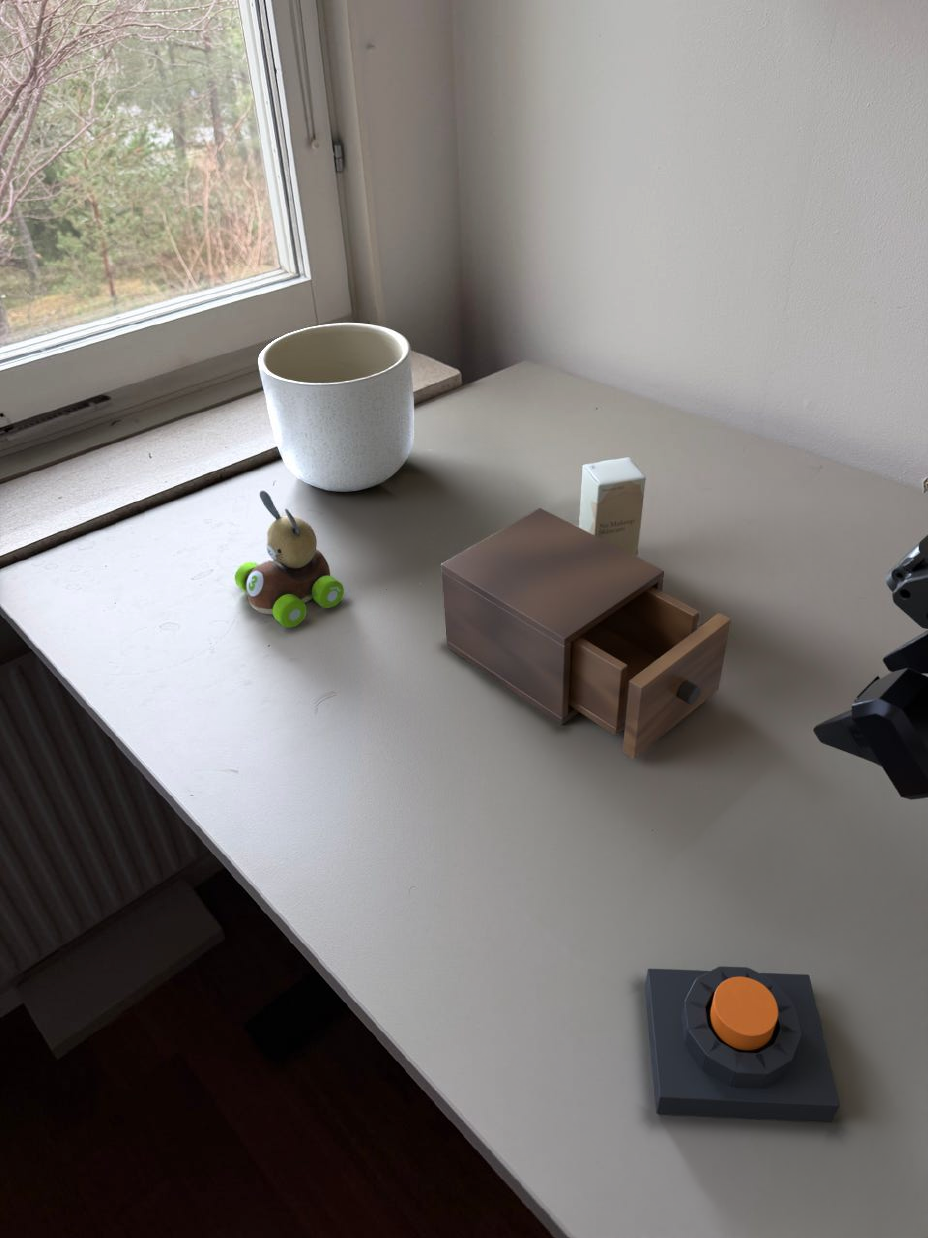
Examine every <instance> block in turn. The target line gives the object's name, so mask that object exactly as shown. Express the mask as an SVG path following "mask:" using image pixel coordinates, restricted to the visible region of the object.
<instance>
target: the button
mask: <svg viewBox="0 0 928 1238" xmlns="http://www.w3.org/2000/svg"><path fill="white" fill-rule="evenodd" d="M710 1019H711V1023H712V1026H713V1028H714V1030H715V1032H716V1033H717V1035H718V1036H719V1037H720V1038H721V1039H722V1040H723V1041H724V1042H725V1043H727V1044H728V1045H730V1046H732V1047H734V1048H737V1049H740V1050H747V1051H748V1050H756V1049H759V1048H761V1047H763V1046H764V1045H766V1044H767V1043H768V1042H769V1040H770V1039H771V1037H772V1034H773V1031H774V1028H775V1025H776V1022H777V1019H778V1006H777V1003H776V1000H775V998H774V996H773V995H772V993H771V992H770V991H769V990H768V989H767V988H766V987H765V986H764V985H762V984H761V983H759V982H758V981H756V980H753V979H751V978H747V977H733V978H729V979H727V980H725V981H723V982H722V983H721V984H720V985H719V986H718V988H717V989H716V991H715V994H714V999H713V1003H712V1007H711V1011H710Z"/></svg>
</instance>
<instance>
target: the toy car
mask: <svg viewBox="0 0 928 1238" xmlns="http://www.w3.org/2000/svg"><path fill="white" fill-rule="evenodd" d="M271 497H272V496H270V495H269V493H268V492H267V491H265V490H261V491H259V498H260V500H261V503H262V504H263V506H264V507H265V508H266V510H267V512H269V513H270V515H271V516H272V517H273V518H274V519H275V520H274V521H273V522H272V523H271V524H269V527H268V529H267V532H266V551H267V554H268V556H269V557H270V558H271V559H272V560H266V561H264V562H262V563H260V564H258V563H257V562H255V561H247V562H244V563H242V564H241V565H240V566H239V567H238V568H237V569H236V571H235V573H234V581H235V582H234V583H235V584H236V586H237V587H238V588H240V589H241V590H242V591H243V592H244V593H246V595H247V598H248V602H249V604H250V606H251V607H252V608H253V609H254V610H256V611H257V612H259V613H261V614H266V615H272V616H273V617H274V619H275V620H276V621H277V622H278V623H279V624H280V625H281V626H283V627H285V628H295V627H296V626H298V625H299V624H301V623H302V621H303V620H304V619H305V617H306V614H307V606H306V603H308V602H309V601H311V600H312V599H313V601H314V602H315V603H317V604H318V605H319V606H321V607H322V608H324V609H331V608H334V607H336V606H337V605H338V604H339V603H340V602H341V601H342V600H343V597H344V595H345V587H344V585H343V583H341V582H340V581H339V579H337V578H335V577H334V576H333V575H331V569H330V566H329V563H328V561H327V559H326V557H325V556H324V554H323V553H322V552H321V551H320V550H319V549H317V548H318V547H317V546H318V540H317V535H316V532H315V530H314V529H313V527H312V526H311V524H309V523H308V522H307V521H305V520H304V519H302V518H300V517H297V516H293V515H292V514H291V512H290V511H289V509H287V508H285V509H284V511H285V513H286V515H287V516H281V515H280V513H279V511H278V509H277V508H276V506H275V504H274V502H273V500H272V498H271Z"/></svg>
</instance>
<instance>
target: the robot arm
mask: <svg viewBox="0 0 928 1238" xmlns="http://www.w3.org/2000/svg"><path fill="white" fill-rule="evenodd" d="M885 583H886V586H887V588H888V589H889V590H890V591H891V598H892V601H893V603H894V605H895V606H896V607H898V608H899V609H900V610H901V611H902V612H903V613H904V614H906V616H907V617H909V618H910V619H911V620H912V621H914V623H916V625H918V626H919V627H920V628H922V629H925V631H923V632H922V633H920V634H918V635H917V636H914V638H912V639H911V640H910V639H909V640H908V641H907V642H905V643H904V644H902V645H901V646H899V647H897V648H896V649H894V650H893V651H891V652H889V653H888V654H886V655H885V656H884V657H883V658H882V663H883V664H884V665H885V667H886V668H887V670H888V671H889V672H890V673H888V674H885V675H884V676H882V677H880V676H879V675H876V676H875V677H874V678H873V680H872V681H871V682H870V683H868V685H867V686H866V687H864V689H862V690H861V692H860V693H858V695H856V697H855V699H854V701H853V703H851V706H850V707H851V709H849V710H847V711H844V712H842V713H840V714H838V715H835V716H833V717H831V718H828V719H826V720H825V721H823V722H821V723H820V722H819V724H817V725H815V726H814V727H813V729H812V732H813V733H814V735H815V736H816V738H817V740H818V741H819V742H820V743H821V744H823V745H826V746H828V747H831V748H834V749H836V750H839V751H841V752H844V753H846V754H850V755H853V756H854V757H855V756H856V757H857V758H861V759H863V760H866V761H868V762H871V763H873V764H875V765H877V766H880V767H881V768H882V769H883V771H884V773H885V774H886V776H887V777H888V779H889V781H890V782H891V784H892V785H893V787H894V788H895V790H896V791H897V793H898V795H899V796H900V798H903V799H907V800H910V801H912V800H921V799H927V798H928V676H927V675H928V534H926V536H924V537H923V538H922V539H921V540H920V541H919V542H918V543H916V544H915V546H914V547H913V548H912V549H911V550H910V551H908V553H906V555H905V556H903V558H902V559H900V561H898V562H897V563H896V564H895V565H894V566H893V567H892V568H891V569H890V570H889V571H888V572H887V573H886V575H885Z"/></svg>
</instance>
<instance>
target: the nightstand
mask: <svg viewBox="0 0 928 1238" xmlns="http://www.w3.org/2000/svg"><path fill="white" fill-rule="evenodd" d="M440 569H441V570H440V571H441V584H442V587H441V588H442V598H443V600H442V601H443V613H444V614H443V615H444V628H445V640H446V642H445V643H446V647H447V648H448V649H449V650H451V651H452V652H453V653H455V654H457V655H458V656H459V657H461V658H462V659H463V660H465V661H467V662H468V663H470V664H471V665H472V666H474V667H476V668H477V669H479V670H480V671H482V672H483V673H484V674H486V675H487V676H489V677H490V678H492V679H493V680H494V681H496V682H497V683H499V684H501V686H504V687H505V688H506V689H508V690H509V691H511V692H512V693H514V694H515V695H517V696H518V697H520V698H521V699H522V700H524V701H526V702H527V704H530V705H531V706H533V707H534V708H535V709H537V710H539V711H540V712H542V713H543V714H545V715H546V716H548V717H549V718H550V719H552V720H553V721H555V722H556V723H558V724H559V725H561V726H563V725H565V724H566V723H567V722H568V721H569V720H571V719H573V717H575V716H576V715H578V714H579V713H580V712H579V711H577V710H576V709H574V708H573V707H571V706H570V705H568V703H569V678H570V653H571V642H572V641H573V640H575V639H576V638H578V637H579V636H580V635H582V634H583V633H585V632H586V631H588V630H589V629H591V628H592V627H594V626H595V625H596V624H598V623H599V622H601V621H602V620H604V619H605V618H607V617H608V616H609V615H611V614H612V613H614V612H615V611H617V610H618V609H620V608H621V607H623V606H624V605H625V604H627V603H628V602H630V601H631V600H633V599H634V598H636V597H637V596H638V595H640V594H641V593H643V592H644V591H646V590H647V589H649V588H650V587H653V588H655V589H657V590H659V591H661V592H663V588H664V582H665V581H664V579H665V569H663V568H660V567H658V566H656V565H654V564H652V563H650V562H648V561H646V560H644V559H642V558H641V557H638V556H637V557H636V556H634V555H632V554H630V553H628V552H626V551H624V550H622V549H620V548H618V547H616V546H615V545H613V544H611V543H609V542H607V541H605V540H603V539H601V538H599V537H597V536H595V535H593V534H591V533H589V532H587V531H585V530H583V529H581V528H579V526H577V525H575V524H573V523H571V522H569V521H567V520H565V519H563V518H561V517H559V516H557V515H555V514H553V513H552V512H550V511H547V510H545V509H543V508H542V507H539V508H536V509H535V510H533V511H532V512H529V514H527V515H524V516H523V517H521V518H519V519H517V520H516V521H514V522H512V523H511V524H509V525H507V526H505V527H503V528H501V529H500V530H498V531H497V532H495V533H493V534H491V535H489V536H488V537H486V538H484V539H483V540H481V541H479V542H477V543H475V544H474V545H472V546H470V547H468V548H466V549H465V550H463V551H461V552H459V553H458V554H456V555H455V556H452V557H450V558H449V559H447V560H446V561H444V562H442V563H441V564H440Z"/></svg>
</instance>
